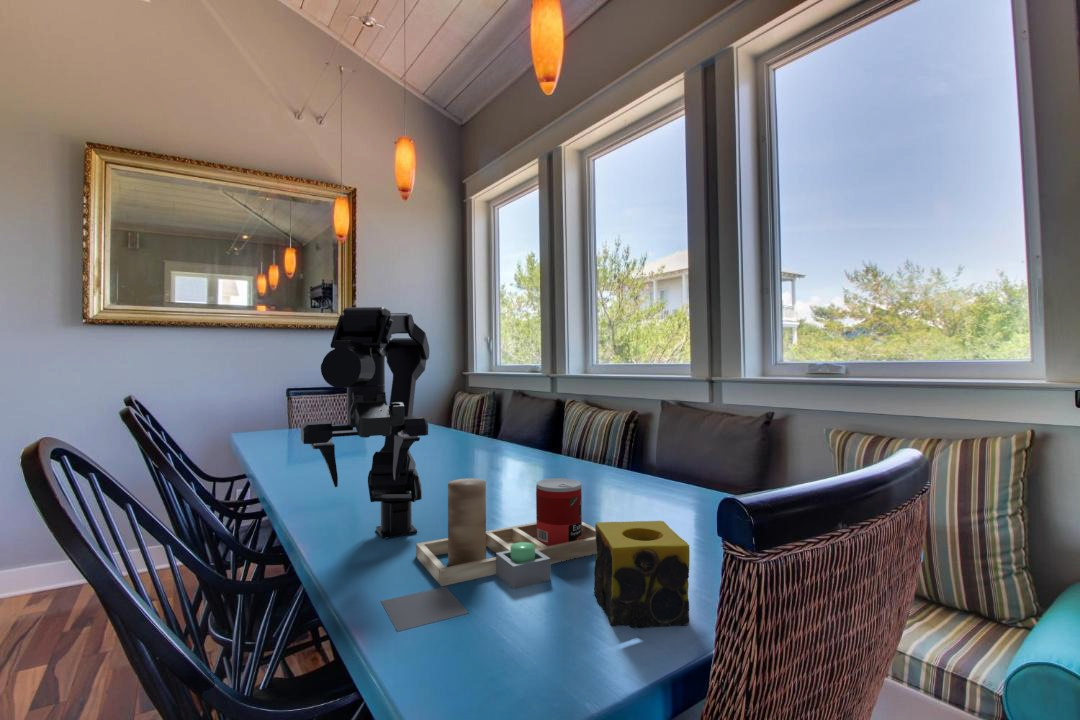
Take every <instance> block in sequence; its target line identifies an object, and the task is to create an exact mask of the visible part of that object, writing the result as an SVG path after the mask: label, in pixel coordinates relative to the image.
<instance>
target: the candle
mask: <svg viewBox="0 0 1080 720" xmlns="http://www.w3.org/2000/svg"><path fill="white" fill-rule="evenodd" d="M594 528H595V531H596V545H597V554H595V555H596V556H595V563H594V567H593V568H594V569H593V570H594V571H593V575H594V576H593V577H594V582H593V584H594V587H593V591H594V592H593V594H594V595H595V598H596V601H597V603H598V604H599V607H600V608H602V611H604V613H605V614H606V616H607V618H608V623H609V625H610V626H611V627H624V626H625V627H630V628H631V629H632V628H633V629H634V628H643V629H644V628H657V627H669V626H688V625H689V624H690V599H689V584H690V583H689V578H690V576H689V575H690V544H689V543H688V542H687V541H686V540H684V539H683V538H682V537H681V536H679V535H678V534H677V532H675V531H674V530H673V529H672V528H671V527H670V526H669V525H668V524H667V522H665V521H664V520H648V521H647V520H645V521H643V520H640V521H639V520H637V521H602V522H601V521H600V522H599V521H598V522H595V525H594Z"/></svg>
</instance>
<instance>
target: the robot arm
mask: <svg viewBox="0 0 1080 720" xmlns="http://www.w3.org/2000/svg"><path fill="white" fill-rule="evenodd" d="M342 313H343V314H340V315H339V317H338V320H337V323H336V327H335V329H334V333H333V336H332V339H331V342H330V348H331V349H332V350H329V352H328V353H326V354H325V356H324V357H323V360H322V361H321V364H320V371H321V376H322V378H323V380H324V381H325V382H326V384H328V386H332V387H333V388H338V389H346V396H347V397H346V400H347V401H346V403H347V404H346V406H347V409H346V413H347V415H346V418H347V419H346V423H347V424H332V422H330V421H329V420H317V421H305V422H303V424H301V426H300V441H301V442H302V444H303V445H309V446H310V447H311V448H312V449H314V450H319V452H320V453H321V455H322V457H323V459H324V462H325V464H326V468H327V471H328V473H329V476H330V479H331V482H332V484H333V487H334V488H338V483H339V482H338V481H339V480H338V479H339V477H338V469H337V462H336V453H335V450H336V447H335V444H334V442H332V440H333V438H337V437H338V438H339V437H351V436H354V437H355V436H358V437H360V438H363V439H364V438H370V437H373V436H374V437H377V436H382V437H384V444H383V446H382V448H381V449H380V450H379V451H375V452H374V454H373V455H372V463H371V469H370V470H369V472H368V476H367V486H368V493H369V501H370V503H375V502H377V503H378V502H379V503H380V525H378V526H376V527H375V531H376V532H377V533H378V534H379V536H380V538H382V539H389V538H394V537H401V536H407V535H412V534H417V533H418V529H417V528H416V527H415V526H414V525H413V523H412V522H413V521H412V520H413V519H412V515H413V514H412V510H413V509H412V503H415V502H416V501H420V500H422V499H423V494H422V493H423V492H422V491H423V490H422V483H421V481H420V480H421V479H420V476H419V473H418V471H417V469H416V462H415V460H414V458H413V456H412V453H411V452H410V448H411V447H412V445H413V444H414V443H415V442H419V441H420V440H421V436H422V437H423V436H428V435H429V424H428V420H427V419H426V418H424V417H421V416H418V415H413V412H414V403H415V394H416V384H417V380H418V379H419V378H420V377H421V376H422V374H423V373H424V372H425V370H426V365H427V361H428V360H429V358H430V346H429V341H428V337H427V335H426V332H425V331H424V330H423V329H422V328H421V327H420V326H418V325H417V324H416V323H415V321H414V318H413V315H412V314H411V313H408V312H391V311H390V309H387V308H386V307H384V306H373V307H372V306H370V307H369V306H368V307H367V306H365V307H363V306H362V307H360V306H359V307H356V306H355V307H354V306H350V307H345V308H344V309H343V310H342ZM396 334H397V335H398V334H407V335H408V336H409V337H400V338H399V337H393V338H392V335H396ZM385 357H386V360H385ZM385 361H386V363H387V366H388V368H389V370H390V372H391V373H392V383H391V391H390V397H389V404H388V403H387V395H386V386H385V384H386V383H385V381H386V379H385V377H386V376H385V375H386V374H385V373H386V372H385V371H386V369H385V365H386V364H385Z"/></svg>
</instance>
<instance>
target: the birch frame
mask: <svg viewBox="0 0 1080 720" xmlns="http://www.w3.org/2000/svg"><path fill="white" fill-rule="evenodd" d="M519 542H528V543H532V544H534V545H535V549H537V550H538V551H540V552H541V553H543V554H544V555H546V556H547V557H549V558H550V559H551V565H552V564H557V563H562V562H567V561H571V560H575V559H574V558H576V559H579V557H580V558H583V557H584V556H585V557H588V556H592V554H593V555H597V545H596V531H595V526H592V525H590V524H587V523H586V522H583V521H582V539H581V540H576V541H572V542H567V543H562V544H557V545H552V546H546V545H544V544H543V543H541V542H539V541H538V540H537V523H536V521H535V522H531V523H524V524H519V525H513V526H507V527H502V528H496V529H491V530H486V548H489V550H491V551H493V552H494V553H495V554H496V553H499V552H504V551H509V550H511V545H512V544H514V543H519ZM443 554H448V537H446V538H441V539H435V540H428V541H423V542H417V543H415V558H417V560H418V561H419V562H420V563H421V565H423V566H424V568H425V570H426V571H428V573H429V574H430V575H431V577H433V578H434V580H435V581H436V582H437V583H438V584H439V586H440V587H446V586H448V585H453V584H454V585H455V584H458V583H462V582H467V581H471V580H475V579H481V578H485V577H490V576H493V575H496V556H495V557H490V558H486V559H484V560H479V561H474V562H469V563H464V564H460V565H455V566H445V565H444V564H443V563H442V562H441V561H440V559H438V557H437V556H440V555H443ZM570 559H571V560H570ZM566 560H567V561H566ZM561 561H562V562H561Z"/></svg>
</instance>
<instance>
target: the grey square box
mask: <svg viewBox="0 0 1080 720" xmlns="http://www.w3.org/2000/svg"><path fill="white" fill-rule="evenodd" d="M495 557H496V574H495V575H496V576H497V577H498V578H500V579H501V580H503V582H505V583H506V584H507V585H508V586H510V588H512V589H513V590H516V589H521V588H524V587H528V586H532V585H536V584H541V583H544V582H549V581H551V579H552V577H551V576H552V575H551V573H552V572H551V571H552V569H551V565H552V564H551V559H550V558H549V557H547V556H546V555H544V554H543V553H541V552H540V551H538V550H537V549H535V560H531V561H526V562H521V563H517V564H516V563H515V562H513V561H512V560H511V550H509V551H504V552H499V553H495Z"/></svg>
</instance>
